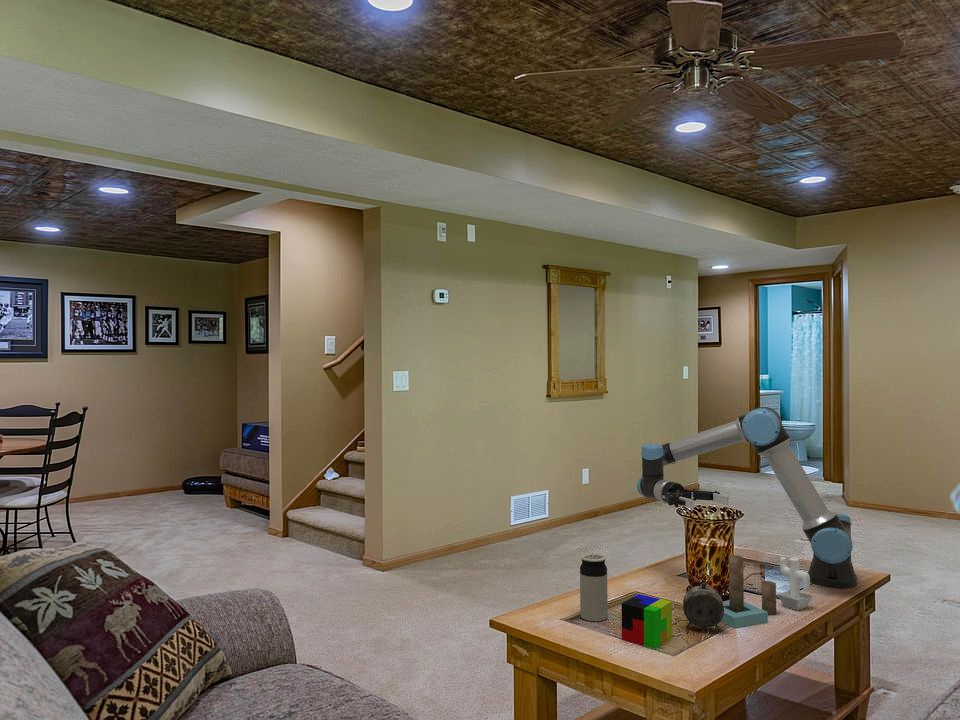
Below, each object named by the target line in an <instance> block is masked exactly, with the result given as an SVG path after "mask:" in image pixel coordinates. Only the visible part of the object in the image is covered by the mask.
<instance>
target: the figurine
mask: <svg viewBox="0 0 960 720" xmlns="http://www.w3.org/2000/svg"><path fill="white" fill-rule="evenodd" d="M787 560H789V566H788V561H787ZM779 568H780V569H779V570H780V574H781V575H782V576H785V577H788V578H789V590H787V591H783V592H779V593H776V596H778V598H779V599H780V601H781V603H782V605H783V606H784V607H785V608H788V607H789V608H788V609H791V608H792V609H791V610H794V609H795V611H800V610H803V608H804V609H806V608H807V607H808V605H809V604H810V602H811V601H812V598H813V597H814V596H813V595H810V594H807V593H803V592H801V589H800V588H801V587H800V586H801V583H800V582H802V590H803V591H806V592H807V591H810V589H811V581H810V576H809V574H808V571H803V570H801V562H800V558H799V557H796V556H793V557H790V558H788V559H787V557H786V556H781V557H780V558H779ZM799 609H800V610H799Z"/></svg>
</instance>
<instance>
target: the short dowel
mask: <svg viewBox="0 0 960 720" xmlns="http://www.w3.org/2000/svg"><path fill="white" fill-rule="evenodd" d="M761 609H762V610H764V611H767V612H768V616H776V615H777V583H776V582H775V581H771V580H764V581H761Z"/></svg>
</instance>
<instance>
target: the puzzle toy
mask: <svg viewBox="0 0 960 720" xmlns="http://www.w3.org/2000/svg"><path fill="white" fill-rule="evenodd" d="M620 607H621V641H624V642H628V643H631V644H635V645H639V646H643V647H646V648H651V649H653V650H656V649H658V648H660V647H661V646H662V645H663V644H666V642H668V641H669V640H671V639H673V601H672V600H667V599H663V598H657V597H652V596H648V595H643V594H639V593H638V594H636V595H635V596H633V597H630V598H629V599H627V600H626V601H624V602H622V603H621V606H620Z"/></svg>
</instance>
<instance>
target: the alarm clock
mask: <svg viewBox="0 0 960 720" xmlns="http://www.w3.org/2000/svg"><path fill="white" fill-rule="evenodd" d="M701 575H706V576H707V578H708V581H707V582H704V581H703V582H700V580H699V577H700V576H701ZM696 578H697V582H698V583H699V584H700V585H696V586H693V587H691V588H690V589H688V590H687V592H686V593H685V594H684V596H683V601H682V605H683V607H682V608H683V614H684V616H685V617H686V619H687V620H688V623H687V624H686V628H689V627H690V626H691V625H693V626H695V627H697V628H700V629H701V632H702V634H704V633H705V632H706V631H705V629H710V628H711V629H712V628H714V627H715V628H716V629H717V631H721V628H719V624H720V623H721V620H722V618H723V615H724V605H723V602H724V601H723V598H722V596H721V595H720V593H719V592H718V591H717V590H715V589H714V588H712V587H710V586H707V585H708V583H709V582H710V580H711V578H710V576H709V574H707V573H706V572H700V573H699V574H698V575H697V577H696Z"/></svg>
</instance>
